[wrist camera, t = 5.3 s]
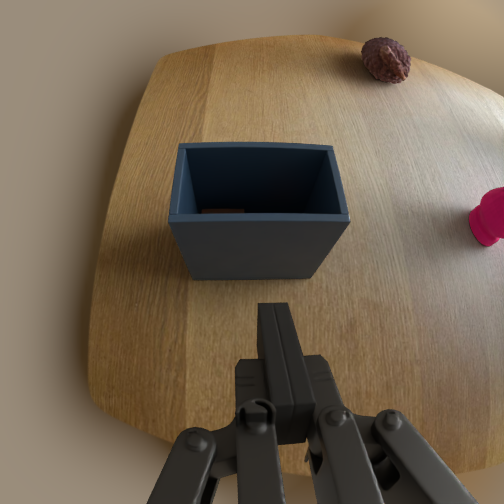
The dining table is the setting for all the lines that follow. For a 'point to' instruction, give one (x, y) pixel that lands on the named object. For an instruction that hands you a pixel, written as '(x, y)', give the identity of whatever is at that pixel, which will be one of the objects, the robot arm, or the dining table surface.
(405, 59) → the pine cone
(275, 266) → the gray box
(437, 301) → the dining table surface
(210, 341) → the dining table surface
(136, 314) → the dining table surface
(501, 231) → the pepper mill
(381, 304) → the dining table surface
